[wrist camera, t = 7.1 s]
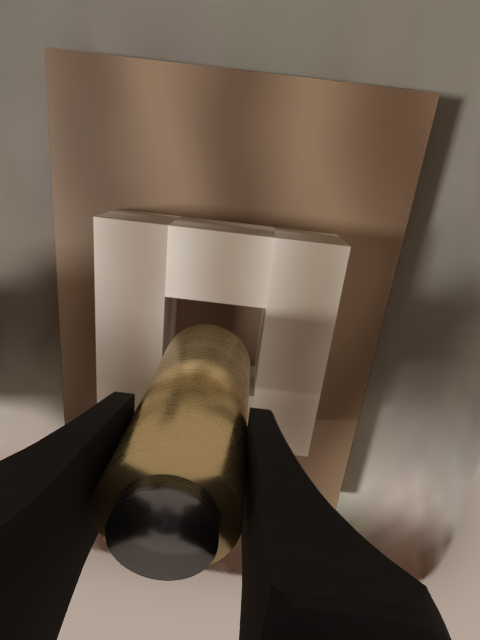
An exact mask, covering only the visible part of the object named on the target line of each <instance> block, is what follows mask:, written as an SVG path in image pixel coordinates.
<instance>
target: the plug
mask: <svg viewBox="0 0 480 640" xmlns="http://www.w3.org/2000/svg"><path fill="white" fill-rule="evenodd" d="M249 381H250V358H249V354H248V352H247V349H246V347H245V346H244V344H243V343H242V341H241V340H240V339H239V338H238V337H237V336H236V335H235V334H233V333H232V332H230V331H229V330H227V329H224V328H222V327H219V326H215V325H207V324H203V325H195V326H192V327H189V328H186V329H184V330H182V331H181V332H179V333H178V334H177V335H176V336H175V337H174V338H173V339H172V340H171V342H170V343H169V345H168V347H167V349H166V351H165V353H164V355H163V357H162V359H161V361H160V363H159V365H158V367H157V369H156V371H155V373H154V375H153V377H152V379H151V381H150V383H149V385H148V387H147V389H146V391H145V392H144V394H143V396H142V398H141V400H140V402H139V404H138V406H137V408H136V410H135V412H134V414H133V416H132V418H131V420H130V422H129V424H128V426H127V428H126V430H125V432H124V434H123V436H122V438H121V440H120V442H119V444H118V446H117V448H116V450H115V452H114V454H113V456H112V458H111V460H110V462H109V464H108V466H107V468H106V470H105V472H104V474H103V476H102V478H101V480H100V482H99V484H98V486H97V488H96V490H95V493H94V496H93V500H92V512H93V518H94V522H95V524H96V527H97V529H98V531H99V532H100V534H101V536H102V537H103V539H104V540H105V541H106V543H107V546H108V548H109V550H110V552H111V553H112V555H113V556H114V557H115V558H116V560H117V561H118V562H120V564H122V565H123V566H124V567H126V568H127V569H129V570H130V571H132V572H134V573H136V574H139V575H141V576H144V577H147V578H151V579H156V580H165V581H171V580H181V579H185V578H189V577H192V576H194V575H196V574H198V573H200V572H202V571H203V570H204V569H206V568H207V567H208V566H209V565H211V564H213V563H215V562H217V561H218V560H220V559H221V558H223V557H224V556H225V555H227V554H228V553H229V552H230V551H231V550H232V548H233V547H234V546H235V544H236V543H237V541H238V540H239V537H240V535H241V532H242V528H243V515H244V492H245V470H246V442H247V425H248V403H249Z"/></svg>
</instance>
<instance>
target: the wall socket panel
mask: <svg viewBox="0 0 480 640" xmlns="http://www.w3.org/2000/svg"><path fill="white" fill-rule="evenodd" d="M45 65H46V83H47V102H48V121H49V139H50V158H51V176H52V195H53V214H54V232H55V251H56V269H57V288H58V307H59V325H60V344H61V362H62V381H63V399H64V418H65V425H66V424H67V423H69V422H71V421H72V420H73V419H75V418H76V417H78V416H79V415H81V414H82V413H84V412H85V411H87V410H88V409H90V408H91V407H93V406H94V405H96V404H97V403H98V402H100V401H101V400H103V399H104V398H106V397H107V396H108V395H110V394H111V393H113V392H124V393H132V394H135V410H136V408H137V406H138V404H139V402H140V400H141V398H142V396H143V394H144V392H145V391H146V389H147V387H148V385H149V383H150V381H151V379H152V377H153V375H154V373H155V371H156V369H157V367H158V365H159V363H160V361H161V359H162V357H163V355H164V353H165V351H166V349H167V347H168V345H169V343H170V342H171V340H172V339H173V338H174V337H175V336H176V335H177V334H178V333H179V332H181V331H182V330H184V329H186V328H189V327H192V326H195V325H203V324H207V325H215V326H219V327H222V328H224V329H227V330H229V331H230V332H232V333H233V334H235V335H236V336H237V337H238V338H239V339H240V340H241V341H242V343H243V344H244V346H245V347H246V349H247V352H248V354H249V358H250V381H249V403H248V418H249V411H250V407H251V408H260V409H268V410H271V411H272V412H273V414H274V417H275V419H276V421H277V424H278V426H279V428H280V430H281V432H282V434H283V436H284V438H285V440H286V441H287V443H288V445H289V447H290V448H291V450H292V452H293V453H294V455H295V457H296V459H297V460H298V462H299V463H300V465H301V466H302V468H303V469H304V471H305V472H306V474H307V475H308V477H309V478H310V479H311V481H312V482H313V483H314V485H315V486H316V487H317V489H318V490H319V491H320V493H321V494H322V495H323V496H324V497H325V499H326V500H327V501H328V502H329V503H330V505H331V506H332V507H333V508H334V509H335V510H336V506H337V502H338V498H339V494H340V490H341V486H342V482H343V478H344V474H345V471H346V467H347V463H348V459H349V455H350V451H351V447H352V443H353V439H354V435H355V431H356V427H357V423H358V419H359V415H360V411H361V407H362V403H363V399H364V395H365V391H366V387H367V383H368V379H369V375H370V371H371V367H372V363H373V359H374V355H375V351H376V347H377V343H378V339H379V335H380V331H381V327H382V323H383V319H384V315H385V311H386V307H387V303H388V299H389V295H390V291H391V287H392V283H393V279H394V275H395V271H396V267H397V263H398V259H399V255H400V251H401V247H402V243H403V239H404V235H405V231H406V227H407V223H408V219H409V215H410V211H411V207H412V203H413V199H414V195H415V191H416V187H417V183H418V179H419V175H420V171H421V167H422V164H423V160H424V156H425V152H426V148H427V144H428V140H429V136H430V132H431V128H432V124H433V120H434V116H435V112H436V108H437V104H438V100H439V96H440V93H435V92H427V91H418V90H409V89H401V88H392V87H383V86H375V85H366V84H358V83H349V82H340V81H332V80H323V79H314V78H306V77H297V76H288V75H280V74H271V73H262V72H254V71H245V70H236V69H228V68H219V67H210V66H202V65H193V64H184V63H176V62H167V61H159V60H150V59H141V58H133V57H124V56H115V55H107V54H98V53H89V52H81V51H72V50H63V49H55V48H46V47H45Z"/></svg>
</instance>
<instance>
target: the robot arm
mask: <svg viewBox="0 0 480 640" xmlns="http://www.w3.org/2000/svg"><path fill="white" fill-rule="evenodd" d="M134 412H135V394H132V393H124V392H113V393H111V394H110V395H108V396H107V397H106V398H104V399H103V400H101V401H100V402H98V403H97V404H96V405H94V406H93V407H91V408H90V409H88V410H87V411H85V412H84V413H82V414H81V415H79V416H78V417H76V418H75V419H73V420H72V421H71V422H69V423H67V424H66V425H64V426H63V427H61V428H59V429H58V430H56V431H54V432H53V433H51V434H49V435H48V436H46V437H44V438H43V439H41V440H39V441H38V442H36V443H34V444H32V445H31V446H29V447H27V448H25V449H23V450H21V451H19V452H17V453H15V454H13V455H11V456H9V457H7V458H5V459H3V460H1V461H0V640H57V637H58V634H59V631H60V628H61V626H62V623H63V620H64V617H65V614H66V612H67V609H68V606H69V603H70V600H71V597H72V595H73V592H74V589H75V587H76V584H77V582H78V579H79V576H80V573H81V571H82V568H83V566H84V563H85V561H86V558H87V556H88V554H89V552H90V550H91V548H92V545H93V543H94V541H95V539H96V537H97V535H98V533H99V531H98V529H97V527H96V524H95V522H94V518H93V512H92V500H93V496H94V493H95V490H96V488H97V486H98V484H99V482H100V480H101V478H102V476H103V474H104V472H105V470H106V468H107V466H108V464H109V462H110V460H111V458H112V456H113V454H114V452H115V450H116V448H117V446H118V444H119V442H120V440H121V438H122V436H123V434H124V432H125V430H126V428H127V426H128V424H129V422H130V420H131V418H132V416H133V414H134ZM241 542H242V599H241V617H240V634H239V640H451V638H450V636H449V633H448V630H447V628H446V625H445V623H444V621H443V619H442V617H441V615H440V612H439V610H438V608H437V607H436V605H435V603H434V601H433V599H432V598H431V595H430V593H429V592H428V589H427V587H426V586H425V585H424V584H422V583H421V582H419V581H418V580H417V579H415V578H414V577H413V576H411V575H410V574H409V573H407V572H406V571H405V570H403V569H402V568H400V567H399V566H398V565H396V564H395V563H394V562H392V561H391V560H390V559H388V558H387V557H386V556H385V555H383V554H382V553H381V552H380V551H379V550H378V549H376V548H375V547H374V546H373V545H372V544H370V543H369V542H368V541H367V540H366V539H365V538H364V537H363V536H361V535H360V534H359V533H358V532H357V531H356V530H355V529H354V528H353V527H352V526H351V525H350V524H349V523H348V522H347V521H346V520H345V519H344V518H343V517H342V516H341V515H340V514H339V513H338V512H337V511H336V510H335V509H334V508H333V507H332V506H331V505H330V503H329V502H328V501H327V500H326V499H325V497H324V496H323V495H322V494H321V493H320V491H319V490H318V489H317V487H316V486H315V485H314V483H313V482H312V481H311V479H310V478H309V477H308V475H307V474H306V472H305V471H304V469H303V468H302V466H301V465H300V463H299V462H298V460H297V459H296V457H295V455H294V453H293V452H292V450H291V448H290V447H289V445H288V443H287V441H286V440H285V438H284V436H283V434H282V432H281V430H280V428H279V426H278V424H277V421H276V419H275V417H274V414H273V412H272V411H271V410H268V409H260V408H251V407H250V411H249V418H248V425H247V442H246V470H245V492H244V515H243V528H242V532H241Z"/></svg>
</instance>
